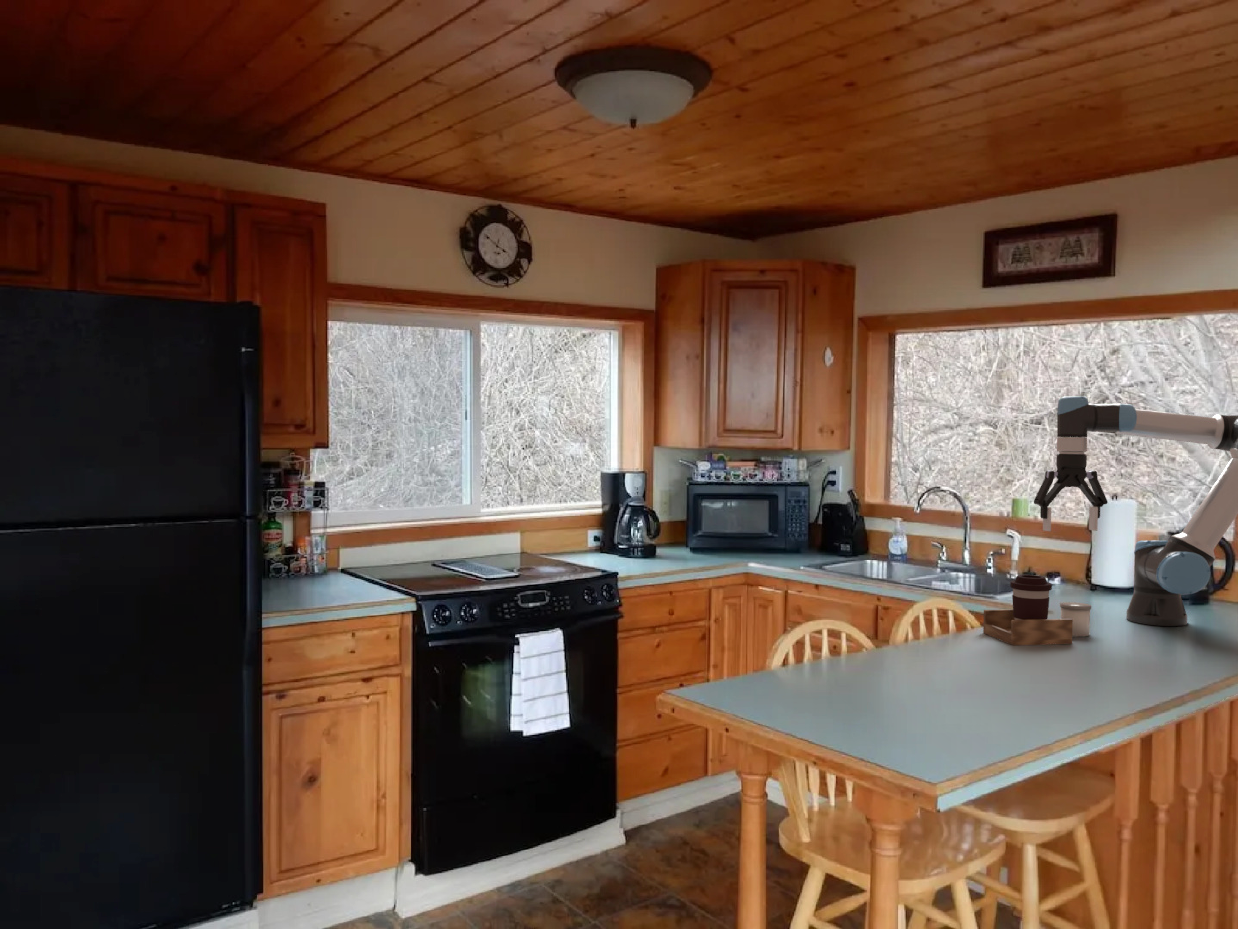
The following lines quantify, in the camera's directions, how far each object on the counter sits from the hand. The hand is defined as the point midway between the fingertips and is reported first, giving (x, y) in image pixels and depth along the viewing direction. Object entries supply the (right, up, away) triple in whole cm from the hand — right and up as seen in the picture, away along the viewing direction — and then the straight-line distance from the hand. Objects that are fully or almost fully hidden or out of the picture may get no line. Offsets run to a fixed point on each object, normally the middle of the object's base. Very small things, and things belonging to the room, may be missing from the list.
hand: (1070, 530), depth 266 cm
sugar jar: (-2, -27, -7) cm, 28 cm away
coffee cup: (-17, -26, -13) cm, 34 cm away
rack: (-17, -27, -13) cm, 35 cm away
